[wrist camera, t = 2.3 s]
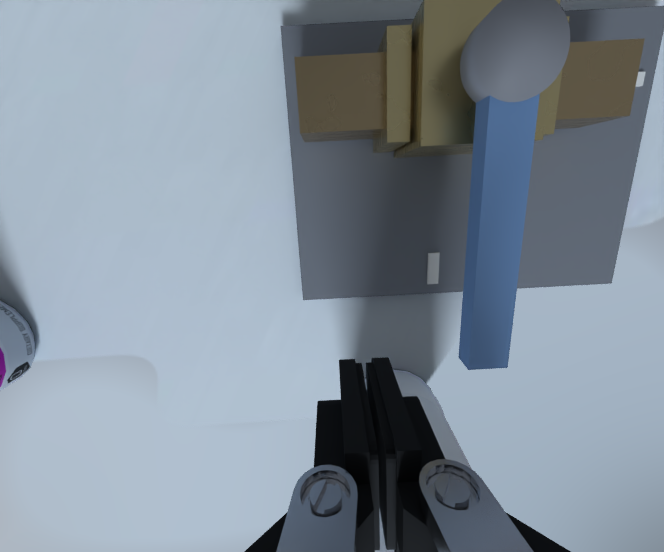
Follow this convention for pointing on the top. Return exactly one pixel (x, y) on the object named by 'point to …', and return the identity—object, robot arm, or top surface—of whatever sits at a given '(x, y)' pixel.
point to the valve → (448, 86)
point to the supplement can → (14, 345)
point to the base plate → (460, 185)
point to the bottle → (437, 420)
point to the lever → (503, 161)
